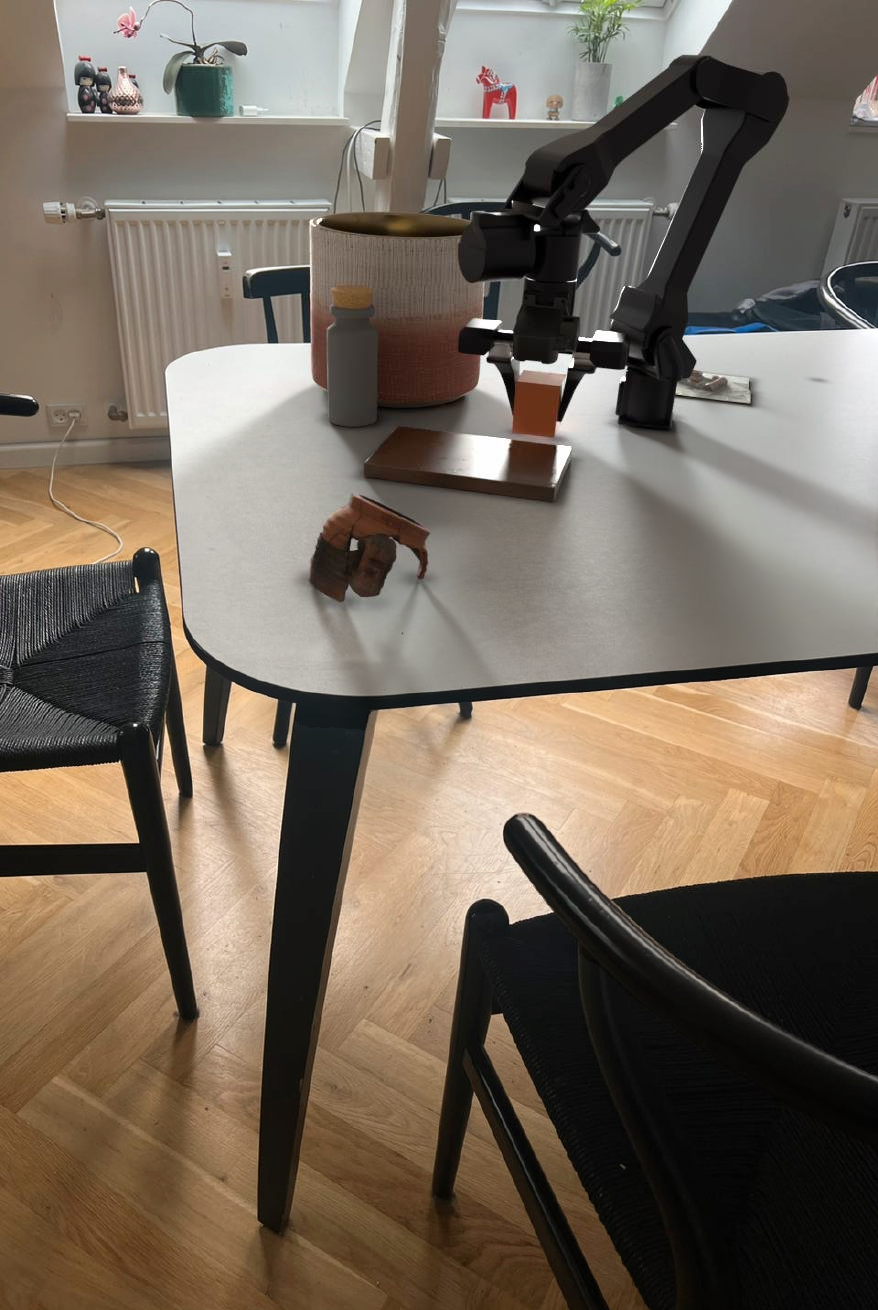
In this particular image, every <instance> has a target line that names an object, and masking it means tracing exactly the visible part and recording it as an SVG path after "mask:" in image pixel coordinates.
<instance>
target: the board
mask: <svg viewBox="0 0 878 1310" xmlns="http://www.w3.org/2000/svg"><path fill="white" fill-rule="evenodd" d="M572 451H573V447H572V446H566V445H560V444H551V443H543V442H534V441H526V440H518V439H511V438H510V439H509V438H501V437H495V436H494V437H493V436H486V435H477V434H468V433H460V432H453V431H443V430H437V429H427V428H420V427H410V426H403V425H397V427H395V429H394V430H393V431H392V433H390V434H389V435H388V437H387V438H386V439H385V440H384V441H383V442H382V443H381V444H380V445H379V446H378V447H377V449H375V450H374V451H373V453H372V454H371V455H370V456H369V457H368V458H367V459H366V460H365V462H364V463H363V477H365V478H370V479H371V478H372V479H379V480H386V481H387V480H388V481H393V482H402V483H410V484H416V485H417V484H418V485H424V486H425V485H426V486H432V487H440V488H447V489H455V490H460V491H461V490H463V491H469V492H477V493H485V494H493V495H498V496H507V497H514V498H523V499H528V500H529V499H530V500H537V501H544V502H545V501H546V502H552V503H553V502H555V499H556V497H557V495H558V492H559V490H560V487H561V484H562V482H563V480H564V478H565V475H566V472H567V469H568V468H569V465H570V462H571V460H572V454H573V453H572Z"/></svg>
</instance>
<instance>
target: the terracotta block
mask: <svg viewBox="0 0 878 1310" xmlns="http://www.w3.org/2000/svg"><path fill="white" fill-rule="evenodd" d="M520 373H521V374H520V376H519V378H518V379H517V381H516V388H515V401H514V413H513V415H512V427H511V434H521V435H527V436H535V437H543V438H553V439H554V438H556V435H557V434H558V431H559V429H560V427H561V425H562V422H558V419H559V408H560V404H561V400H562V395H563V391H564V387H565V382H566V378H567V373H565V374H564V373H555V372H546V371H537V370H528V369H523V370H522V372H520Z"/></svg>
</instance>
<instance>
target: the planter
mask: <svg viewBox="0 0 878 1310" xmlns="http://www.w3.org/2000/svg"><path fill="white" fill-rule="evenodd" d="M469 224H470V220H469V219H463V218H459V217H453V216H446V215H441V214H439V215H438V214H430V213H421V212H419V213H418V212H403V211H402V212H401V211H351V212H336V213H331V214H324V215H321V216H317V217H315V218H312V219H311V220H310V221H309V275H310V277H309V279H310V280H309V281H310V282H309V283H310V286H309V287H310V289H309V291H310V370H311V377H312V380H313V382H314V383H315V384H316V385H317V386H318V387H319V388H321V389H322V390H323V391H325V392H326V393H328V383H327V329H328V327H329V326H331V325H332V324H334V323H335V317H334V316H332V315H331V314H330V305H331V304H333V303H334V301H333V296H332V291H331V289H332V288H333V287H336V286H344V285H356V286H364V287H368V288H371V289H373V295H372V300H371V304H372V305H373V306H374V307H375V315H374V316H373V317H371V318H370V324H371V325H373V326H374V327H375V328H376V329H377V332H378V366H377V407H378V408H379V407H381V408H392V409H393V408H396V409H398V408H400V409H401V408H402V409H407V408H408V409H409V408H414V409H415V408H423V407H433V406H440V405H444V404H448V403H452V402H454V401H457V400H459V399H461V398H463V397H465V396H466V395H468V394H470V393H471V392H473V390H475V389H476V388H477V386H478V384H479V380H480V375H481V362H482V361H481V360H482V359H481V357H482V355H473V354H464V353H460V352H458V339H459V333H460V330H461V329H462V328H463V327H464V326H465V325H466V324H467V323H468V322H470V321H471V320H472V319H473V318H476V319H484V318H483V316H484V297H485V296H484V295H485V282H481V283H469V282H468V281H467V280H465V278H464V277H463V275H462V273H461V270H460V267H459V262H458V243H459V242H460V241H461V236H462V234H463V231H464V229H465V228H466V227H467V226H468V225H469Z"/></svg>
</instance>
